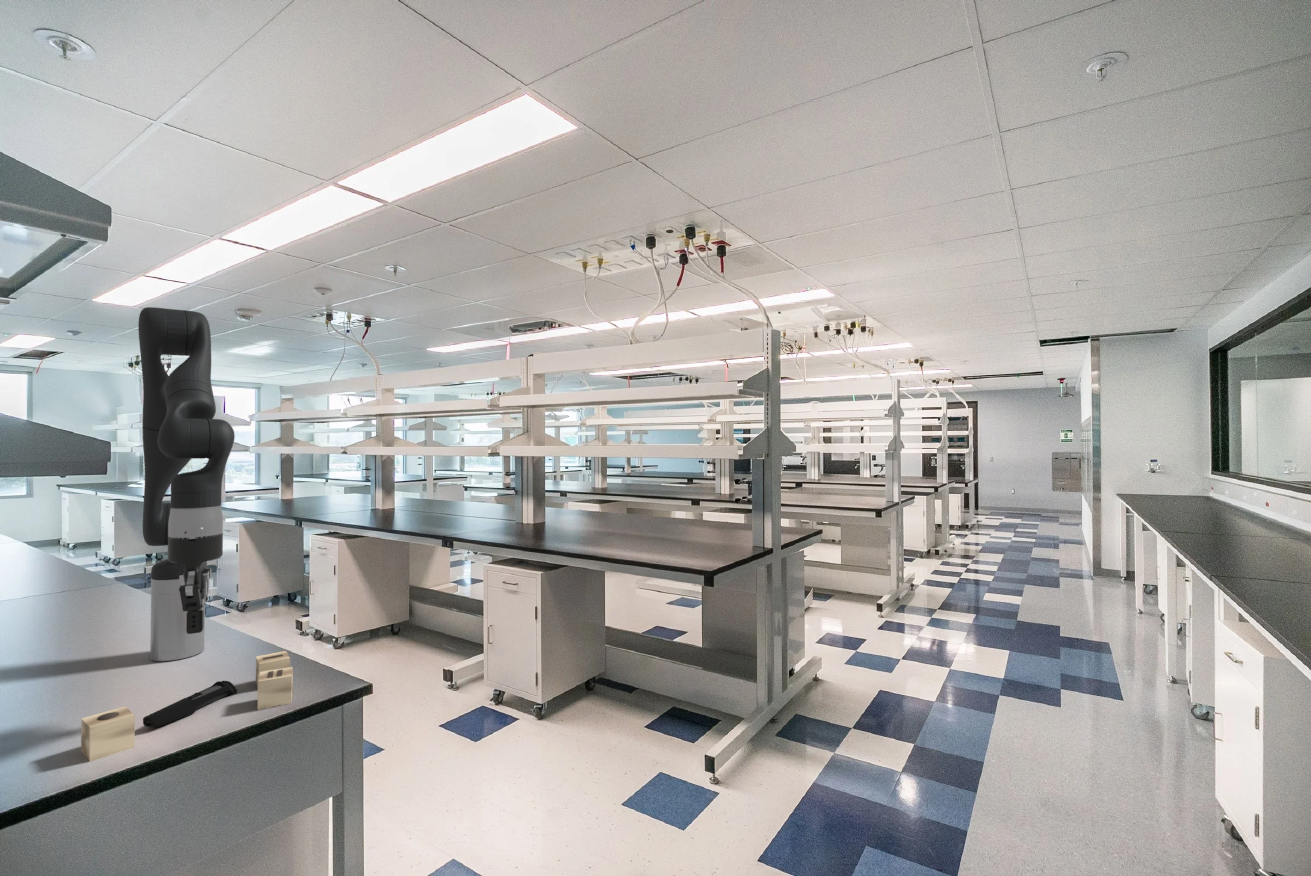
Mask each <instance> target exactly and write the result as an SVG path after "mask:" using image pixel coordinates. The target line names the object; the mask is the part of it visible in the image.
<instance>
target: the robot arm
mask: <svg viewBox="0 0 1311 876" xmlns="http://www.w3.org/2000/svg"><path fill="white" fill-rule="evenodd" d="M137 323H138V324H137V325H138V329H137V330H138V341H139V352H140V363H141V364H140V365H141V372H142V373H141V374H142V427H141V429H142V446H143V461H144V462H143V463H144V489H143V490H144V491H143V494H144V495H143V505H142V506H143V509H142V535H143V539H144V543H146V544H147V546H150V547H165V546H167V559H164V560H161V561H159V562H156V563H155V564H153V565H152V566H151V569H150V570H151V571H150V578H151V579H150V645H149V646H150V651H149V654H150V655H149V656H150V657H149V658H150V660H151V661H154V662H166V661H176V660H182V659H186V658H189V657H193V656H196V655H199V654H201V653H202V652H204V650H205V642H206V641H205V640H206V639H205V633H206V629H205V628H206V626H205V625H206V624H205V623H206V613H205V612H206V606H207V602H208V601H209V598H208V594H209V592H210V578H211V577H212V567H210V568H208V562H209V561H210V562H211V561H215V560H218V559H220V558H221V557H222V556H223V553H224V552H223V547H224V546H223V543H224V538H223V537H224V532H223V531H224V530H223V529H224V517H223V516H224V515H223V511H222V510H223V509H222V487H223V486H222V485H223V479H224V478H223V477H224V473H225V469H226V465H227V463H228V460H229V457H230V455H231V451H232V449H233V446H234V442H235V437H236V436H235V431H234V428H233V426H232V425H231V424H230V423H229V422H228V421H226V420H225V419H219V418H215V416H216V411H217V408H216V407H217V406H216V401H215V398H214V397H215V396H214V392H213V387H212V379H211V378H212V337H211V335H212V334H211V329H210V323H209V321H208V318H207V316H206V315H204V313H201V312H198V311H193V310H188V309H187V310H184V309H173V308H165V307H164V308H162V307H153V306H151V307H150V306H149V307H144V308H142V309H141V311H140V313H139V316H138V322H137ZM163 355H164V356H165V355H166V356H182V357H185V356H186V357H187V358H186V359H185V360H184V361H183V362H181V363H180V364H179V365H178V366H177V367H176V368H175V369H173V370H172V371H171V372H170V374H169V375H168V373H167V370H166V369H165V366H164V364H163V362H162V356H163ZM194 459H195V460H196V459H198V460H199V459H200V460H201V459H202V460H203V459H208V461H207V463H206V464H205V465H204V466H203V467H202V468H200V469H198V470H197V469H196V470H194V471H187V472H181V471H182V470H183V469H184V468H185V467H186V466H187V465H188V464H189V463H190V461H191V460H194ZM180 472H181V473H180ZM169 487H170V502H163V499H164V497H165V495H166V493H167V491H168V489H169Z"/></svg>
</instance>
